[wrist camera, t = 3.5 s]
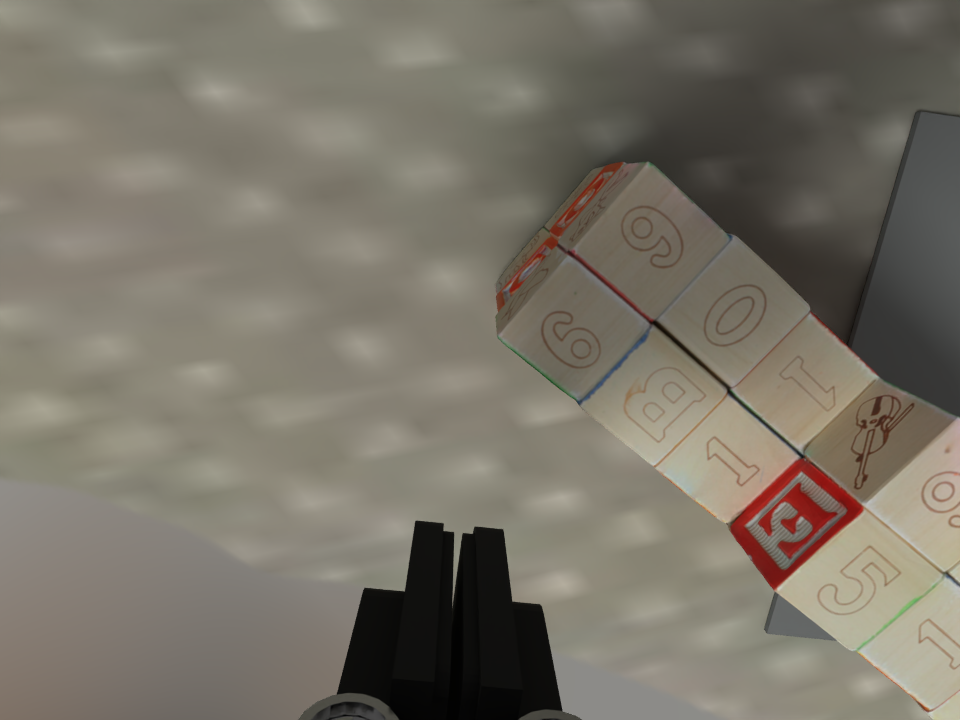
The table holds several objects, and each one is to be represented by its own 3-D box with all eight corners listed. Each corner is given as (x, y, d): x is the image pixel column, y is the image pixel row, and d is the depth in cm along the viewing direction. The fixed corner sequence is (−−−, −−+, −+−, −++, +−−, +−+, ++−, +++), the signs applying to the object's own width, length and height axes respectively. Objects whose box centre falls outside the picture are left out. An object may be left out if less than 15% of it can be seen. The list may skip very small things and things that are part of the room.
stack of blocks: (489, 284, 26) (492, 364, 14) (592, 164, 25) (692, 140, 13) (832, 576, 29) (1067, 838, 17) (938, 484, 28) (1269, 700, 16)
